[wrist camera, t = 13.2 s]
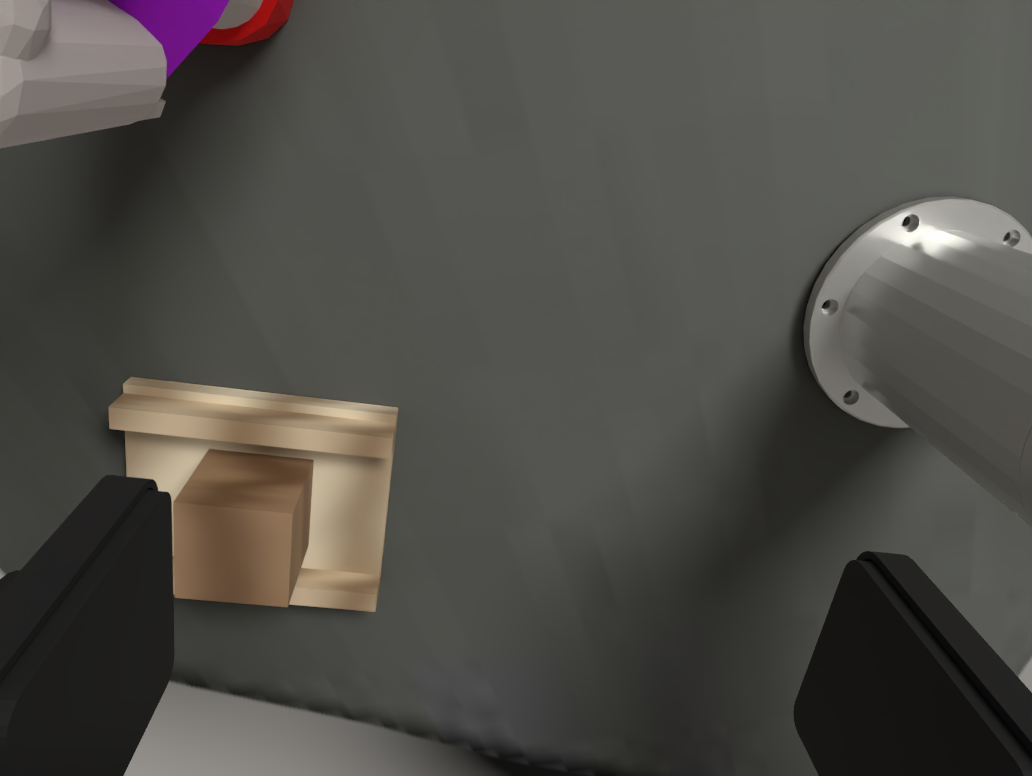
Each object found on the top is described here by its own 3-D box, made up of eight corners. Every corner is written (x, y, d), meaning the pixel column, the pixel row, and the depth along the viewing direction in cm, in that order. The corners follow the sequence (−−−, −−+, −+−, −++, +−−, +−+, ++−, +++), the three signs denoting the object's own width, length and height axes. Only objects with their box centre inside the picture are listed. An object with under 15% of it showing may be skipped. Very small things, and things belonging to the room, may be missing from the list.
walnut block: (313, 459, 42) (292, 513, 37) (308, 545, 44) (288, 607, 39) (209, 448, 42) (173, 502, 36) (208, 535, 44) (174, 597, 39)
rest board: (398, 407, 42) (393, 430, 40) (379, 588, 47) (374, 619, 44) (130, 376, 41) (107, 397, 38) (137, 566, 45) (117, 597, 43)
